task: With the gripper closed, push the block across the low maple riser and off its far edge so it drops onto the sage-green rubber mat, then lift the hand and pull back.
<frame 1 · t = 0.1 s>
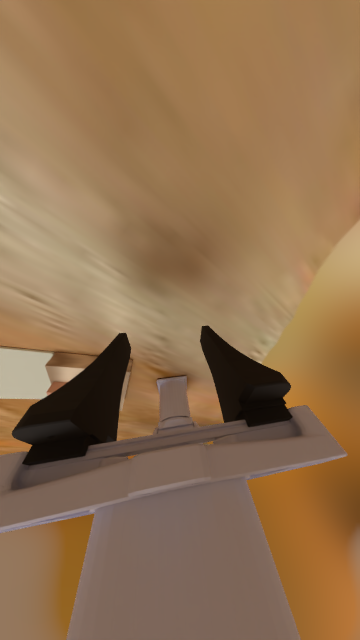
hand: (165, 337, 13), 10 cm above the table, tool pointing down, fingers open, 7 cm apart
block: (73, 392, 28), point 3 cm above the table, touching riser
riser: (97, 380, 31), on the table
mat: (15, 375, 27), on the table
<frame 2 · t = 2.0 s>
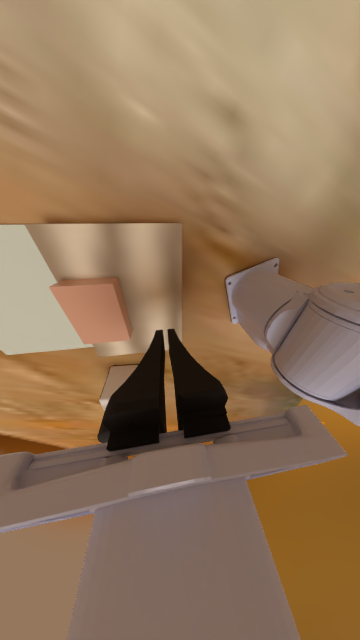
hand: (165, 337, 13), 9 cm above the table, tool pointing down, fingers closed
block: (102, 309, 17), point 3 cm above the table, touching riser
riser: (133, 297, 20), on the table
mat: (22, 304, 18), on the table
medicine bottle: (130, 373, 31), on the table
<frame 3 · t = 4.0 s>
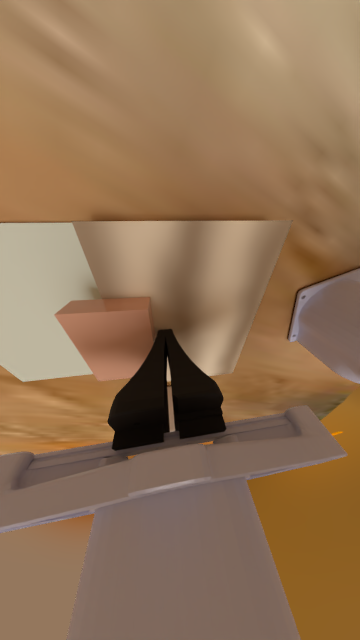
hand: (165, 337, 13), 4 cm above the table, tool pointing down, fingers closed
block: (124, 336, 13), point 3 cm above the table, touching gripper
riser: (183, 314, 16), on the table
mat: (47, 325, 14), on the table
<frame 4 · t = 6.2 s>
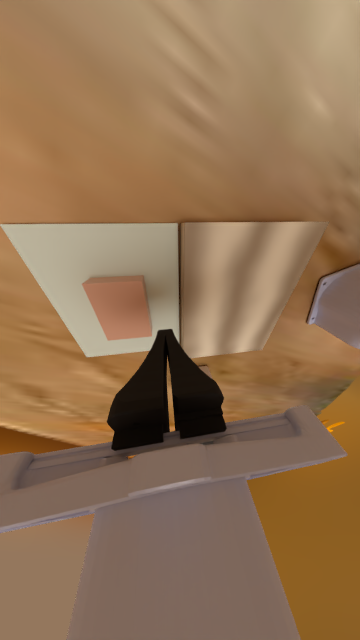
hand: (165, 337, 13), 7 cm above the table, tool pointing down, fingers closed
block: (122, 314, 16), point 2 cm above the table, tilted 180°, touching mat
riser: (227, 298, 19), on the table
mat: (121, 305, 18), on the table
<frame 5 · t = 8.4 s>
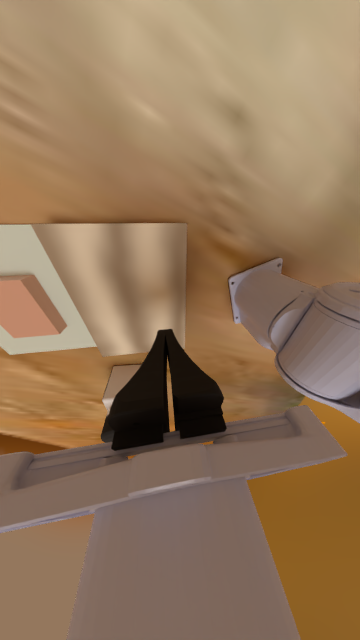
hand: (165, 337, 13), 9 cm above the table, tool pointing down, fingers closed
block: (16, 312, 16), point 2 cm above the table, tilted 180°, touching mat
riser: (136, 297, 20), on the table
mat: (26, 304, 18), on the table
medicine bottle: (132, 372, 31), on the table
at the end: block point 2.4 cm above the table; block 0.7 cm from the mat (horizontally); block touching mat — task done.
